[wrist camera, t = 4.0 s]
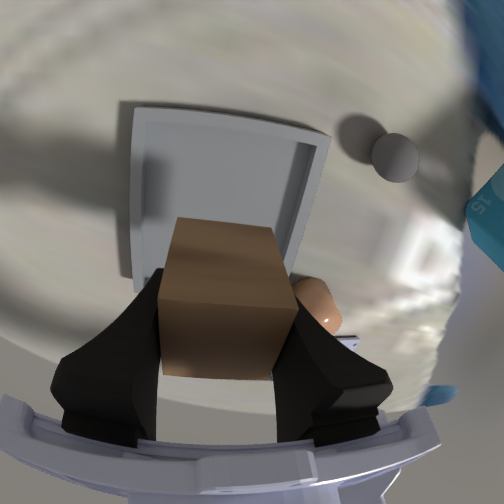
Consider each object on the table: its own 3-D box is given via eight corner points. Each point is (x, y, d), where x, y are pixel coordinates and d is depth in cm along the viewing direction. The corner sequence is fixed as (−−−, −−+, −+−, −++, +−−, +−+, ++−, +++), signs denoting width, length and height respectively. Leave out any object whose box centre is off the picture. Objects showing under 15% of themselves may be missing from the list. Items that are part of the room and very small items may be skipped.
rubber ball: (393, 177, 19) (418, 195, 16) (357, 166, 19) (380, 183, 16) (406, 137, 17) (434, 149, 14) (370, 122, 17) (397, 132, 14)
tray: (276, 293, 24) (279, 305, 23) (137, 280, 22) (134, 292, 21) (323, 132, 17) (331, 137, 16) (141, 105, 15) (134, 107, 13)
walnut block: (253, 296, 16) (267, 379, 11) (174, 289, 15) (163, 374, 10) (271, 227, 13) (298, 308, 9) (177, 216, 13) (157, 298, 8)
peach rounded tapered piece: (319, 310, 27) (331, 341, 23) (280, 309, 26) (289, 342, 22) (333, 279, 24) (349, 310, 21) (292, 275, 24) (304, 309, 20)
